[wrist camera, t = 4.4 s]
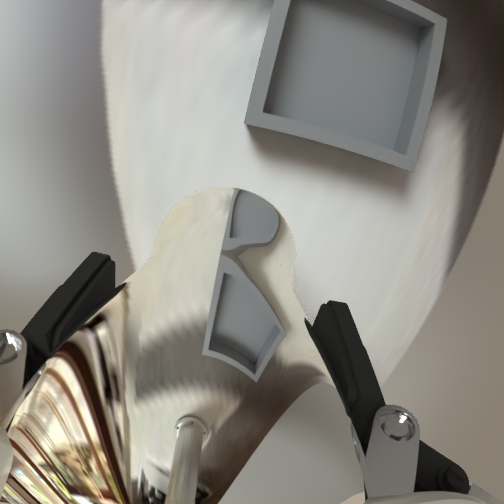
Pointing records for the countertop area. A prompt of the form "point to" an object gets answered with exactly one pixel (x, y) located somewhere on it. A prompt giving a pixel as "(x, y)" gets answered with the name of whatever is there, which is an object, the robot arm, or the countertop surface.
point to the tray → (350, 75)
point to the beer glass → (191, 380)
